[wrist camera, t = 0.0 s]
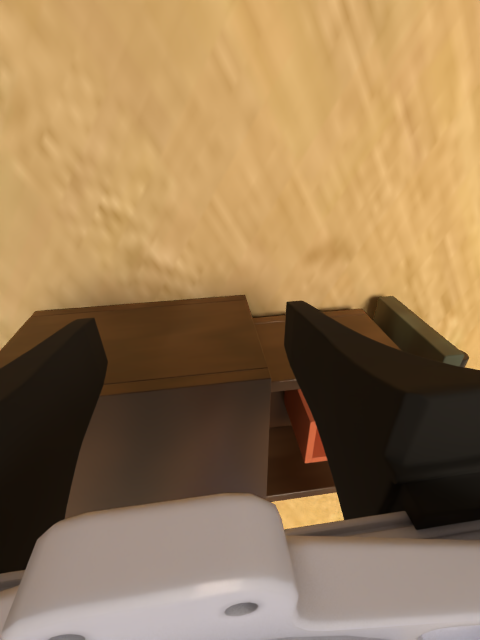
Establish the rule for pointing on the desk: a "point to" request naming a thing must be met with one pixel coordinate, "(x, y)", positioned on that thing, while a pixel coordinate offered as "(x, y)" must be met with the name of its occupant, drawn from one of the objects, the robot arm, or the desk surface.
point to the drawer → (283, 452)
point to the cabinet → (168, 402)
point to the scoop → (304, 427)
